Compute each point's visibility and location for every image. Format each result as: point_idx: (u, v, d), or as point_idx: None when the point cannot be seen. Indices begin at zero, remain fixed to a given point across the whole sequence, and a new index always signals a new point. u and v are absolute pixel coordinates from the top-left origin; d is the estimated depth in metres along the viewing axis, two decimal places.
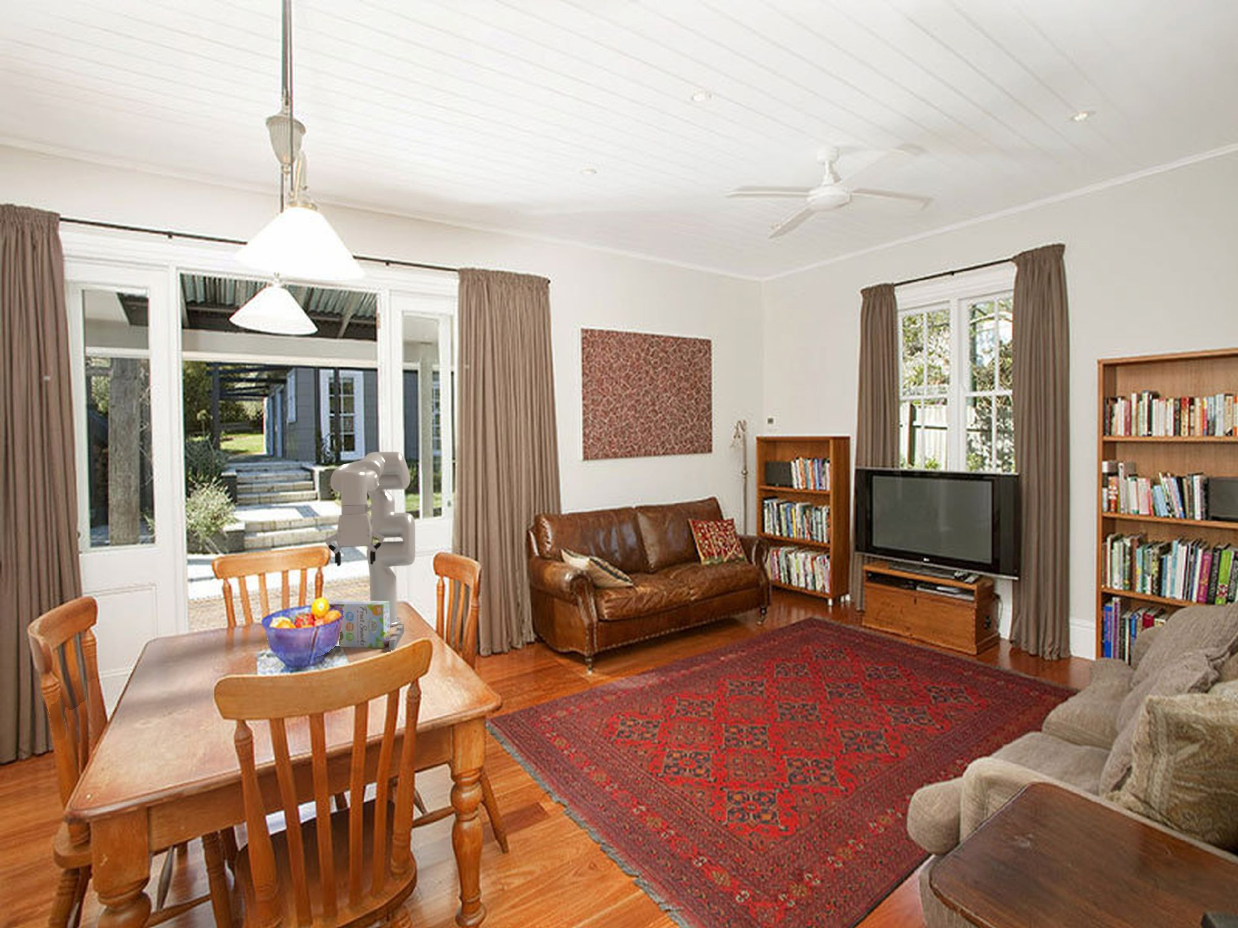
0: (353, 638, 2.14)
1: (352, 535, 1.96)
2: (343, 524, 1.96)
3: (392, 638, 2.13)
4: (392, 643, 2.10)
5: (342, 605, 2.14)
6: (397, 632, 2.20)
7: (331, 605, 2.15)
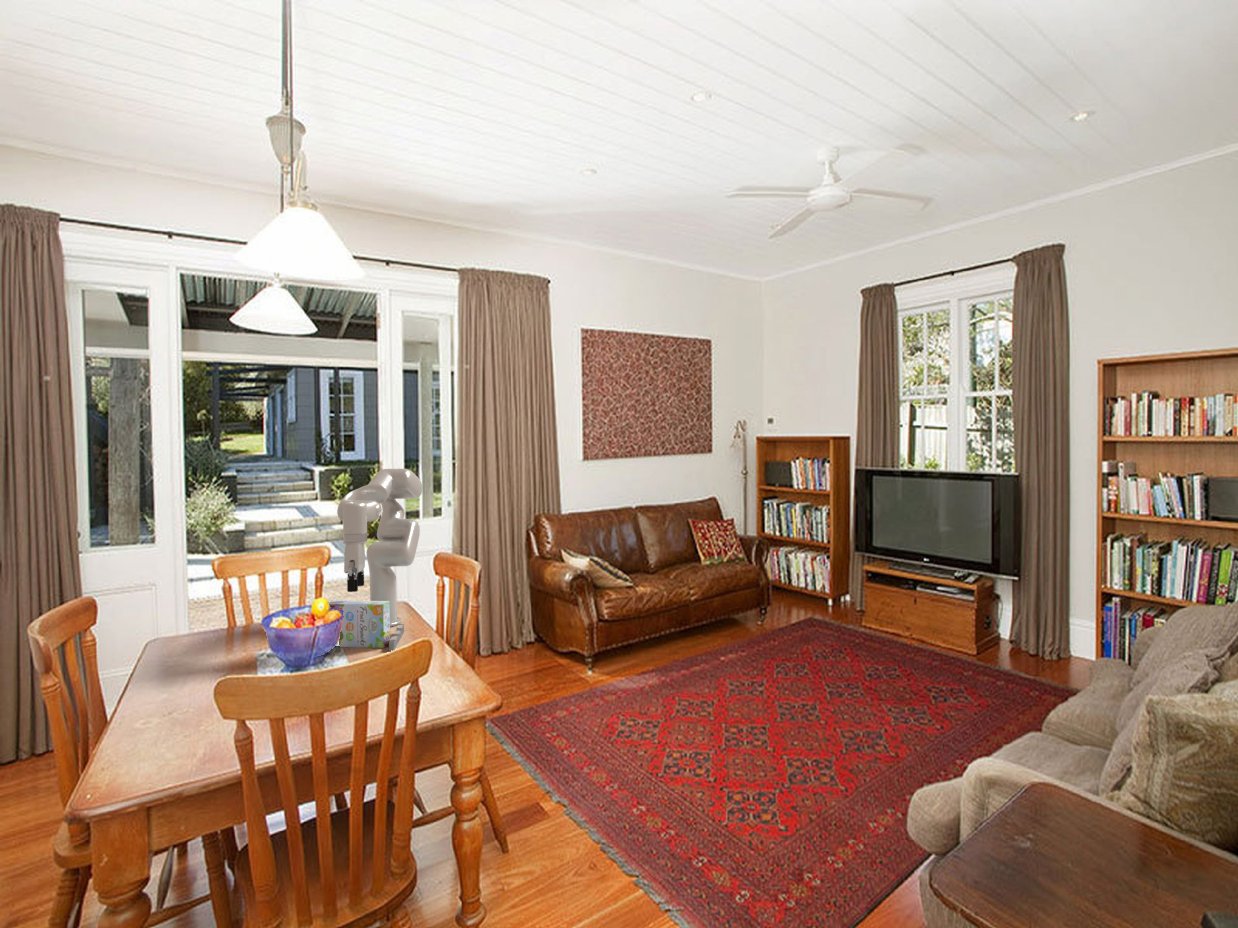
0: (353, 638, 2.14)
1: (362, 560, 2.16)
2: (360, 551, 2.13)
3: (392, 638, 2.13)
4: (392, 643, 2.10)
5: (342, 605, 2.14)
6: (397, 632, 2.20)
7: (331, 605, 2.15)
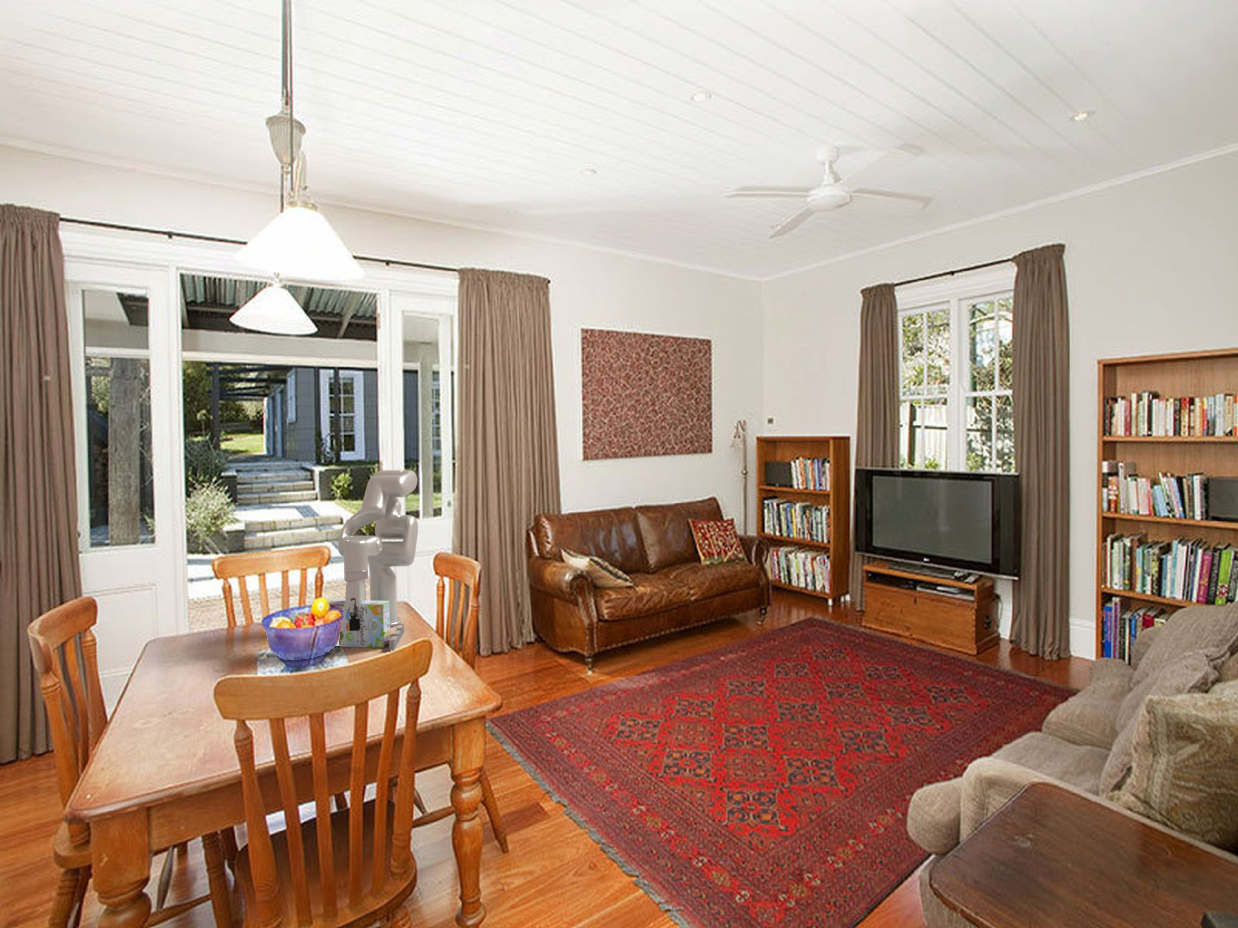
0: (353, 638, 2.14)
1: (363, 597, 2.16)
2: (361, 588, 2.14)
3: (392, 638, 2.13)
4: (392, 643, 2.10)
5: (342, 605, 2.14)
6: (397, 632, 2.20)
7: (331, 605, 2.15)
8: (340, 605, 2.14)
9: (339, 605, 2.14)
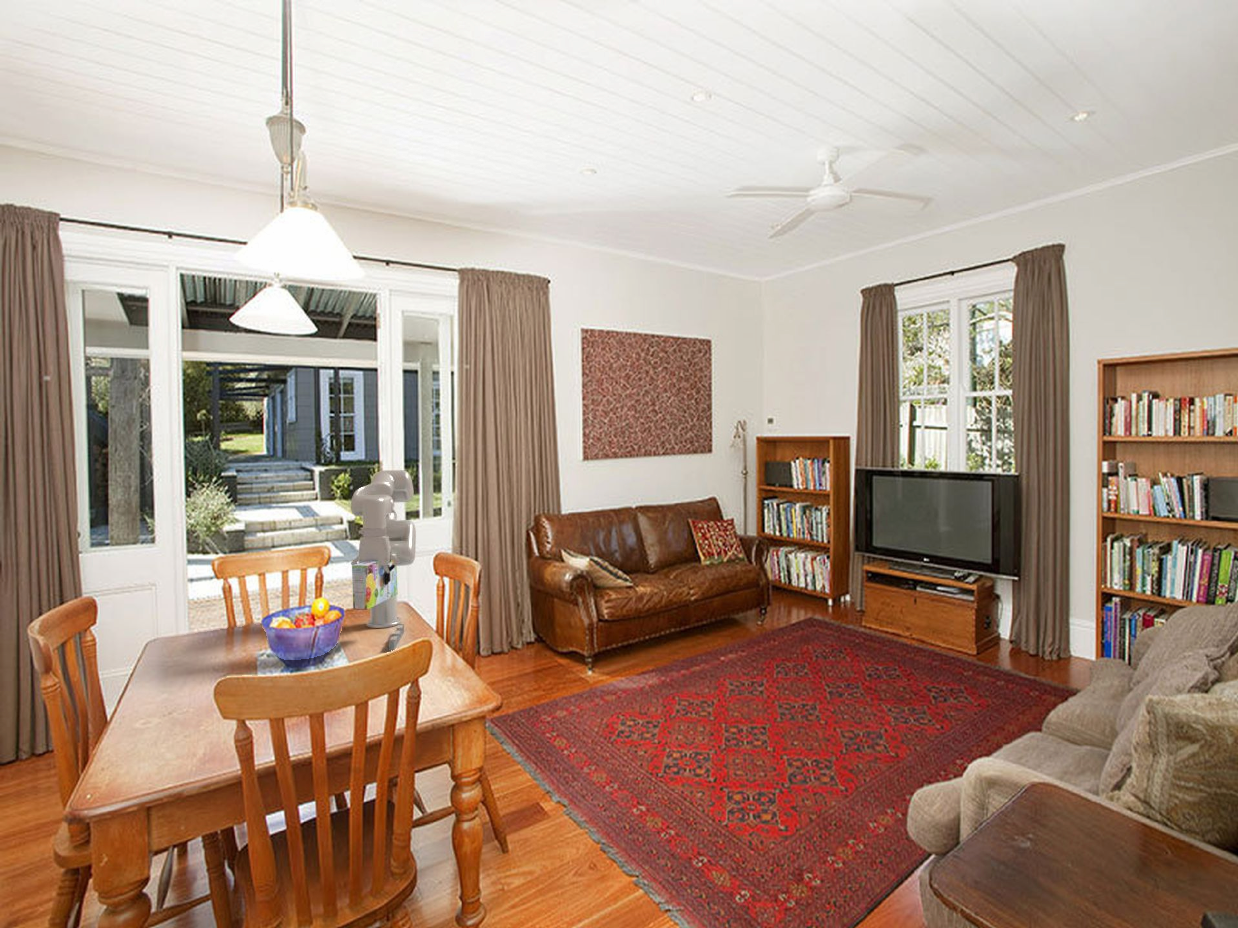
0: (383, 592, 2.19)
1: None
2: None
3: (392, 638, 2.13)
4: (392, 643, 2.10)
5: (376, 563, 2.15)
6: (397, 632, 2.20)
7: (370, 565, 2.11)
8: (375, 563, 2.14)
9: (374, 563, 2.14)
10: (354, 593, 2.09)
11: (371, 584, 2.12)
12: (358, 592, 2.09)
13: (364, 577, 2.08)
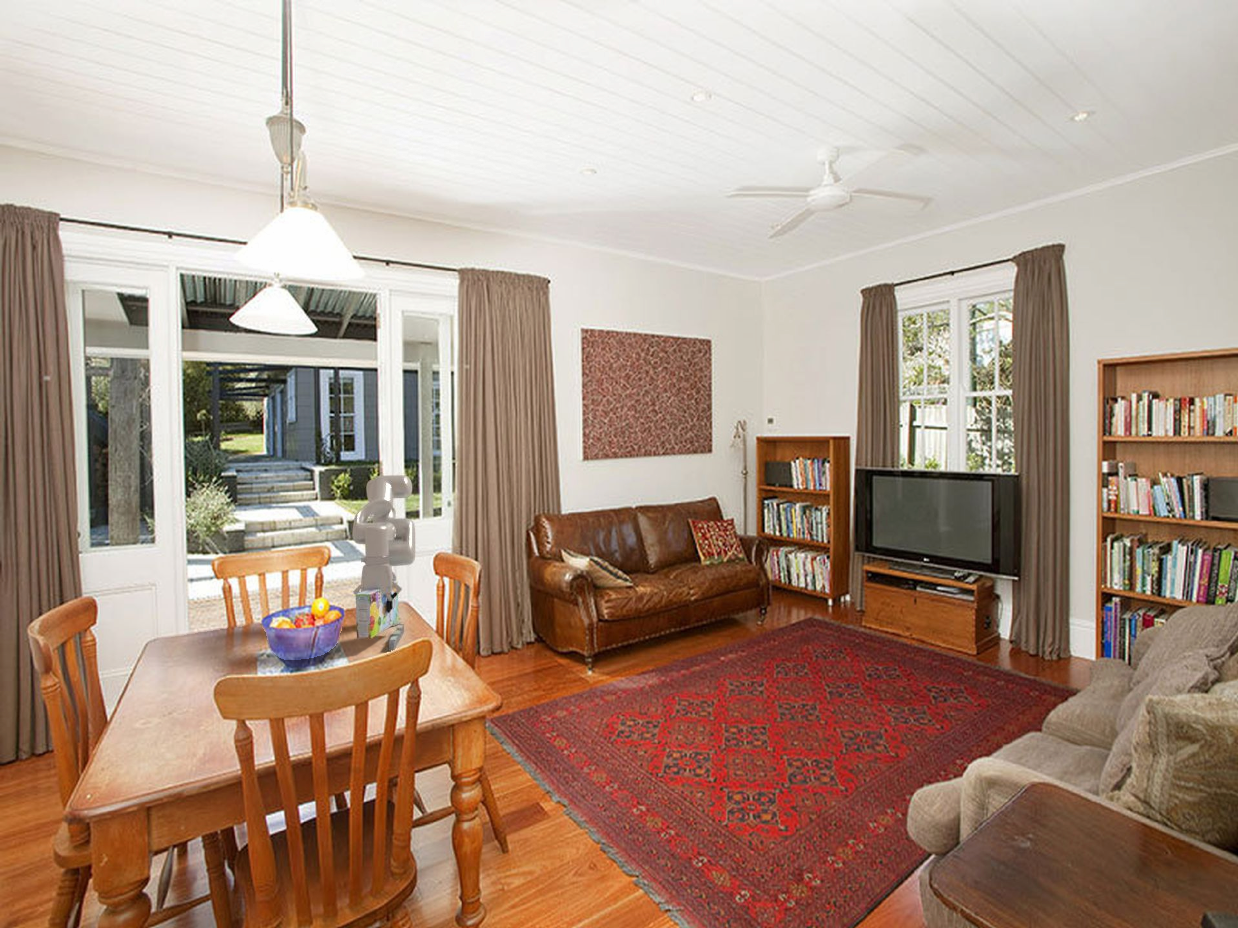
0: (386, 620, 2.19)
1: None
2: None
3: (392, 638, 2.13)
4: (392, 643, 2.10)
5: (379, 591, 2.15)
6: (397, 632, 2.20)
7: (374, 594, 2.11)
8: (378, 591, 2.15)
9: (378, 592, 2.14)
10: (358, 622, 2.09)
11: (375, 613, 2.12)
12: (362, 620, 2.09)
13: (368, 606, 2.09)
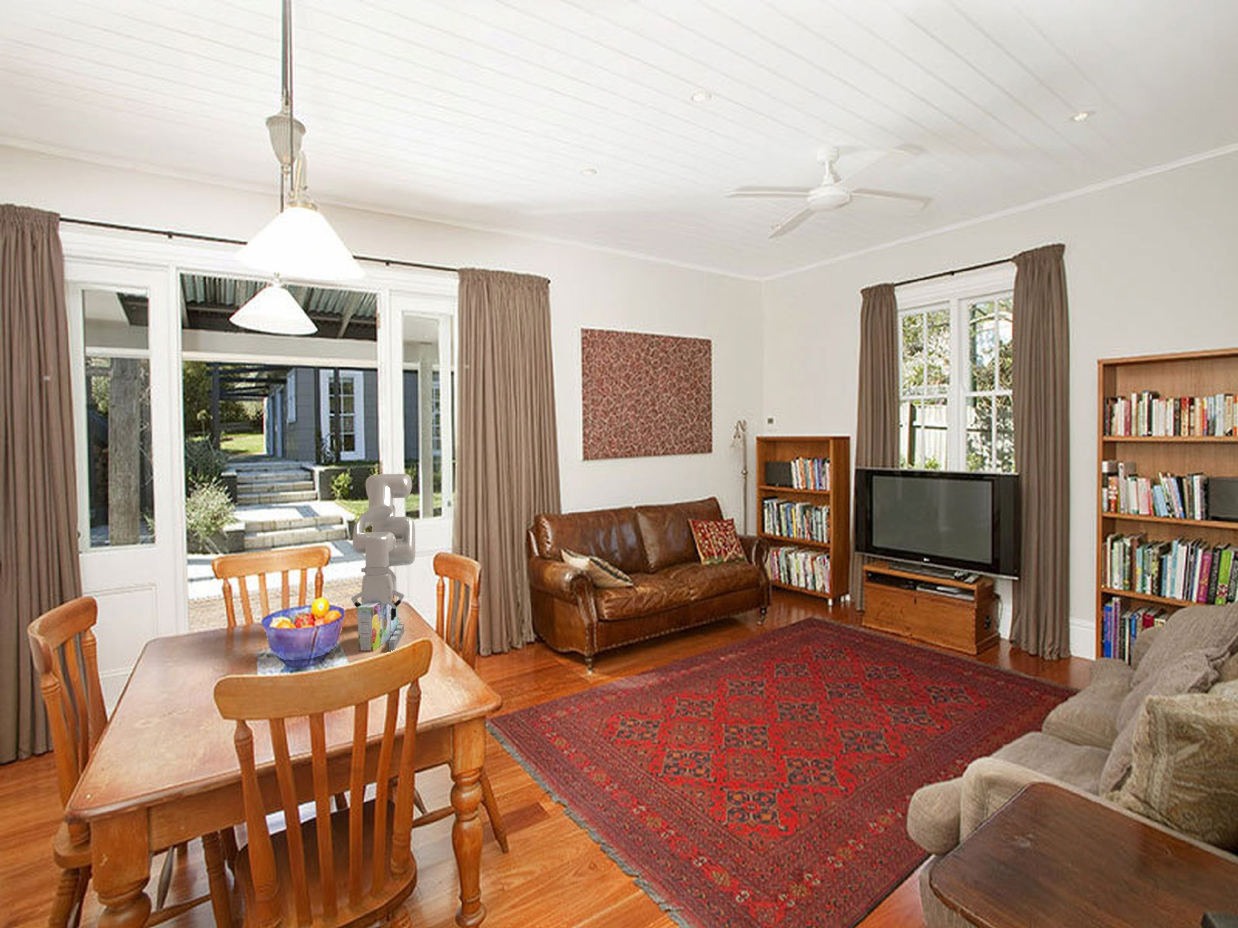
0: (386, 632, 2.20)
1: None
2: None
3: (392, 638, 2.13)
4: (392, 643, 2.10)
5: (380, 603, 2.16)
6: (397, 632, 2.20)
7: (375, 606, 2.12)
8: (379, 604, 2.16)
9: (379, 604, 2.15)
10: (360, 635, 2.10)
11: (377, 625, 2.13)
12: (363, 633, 2.10)
13: (370, 619, 2.10)
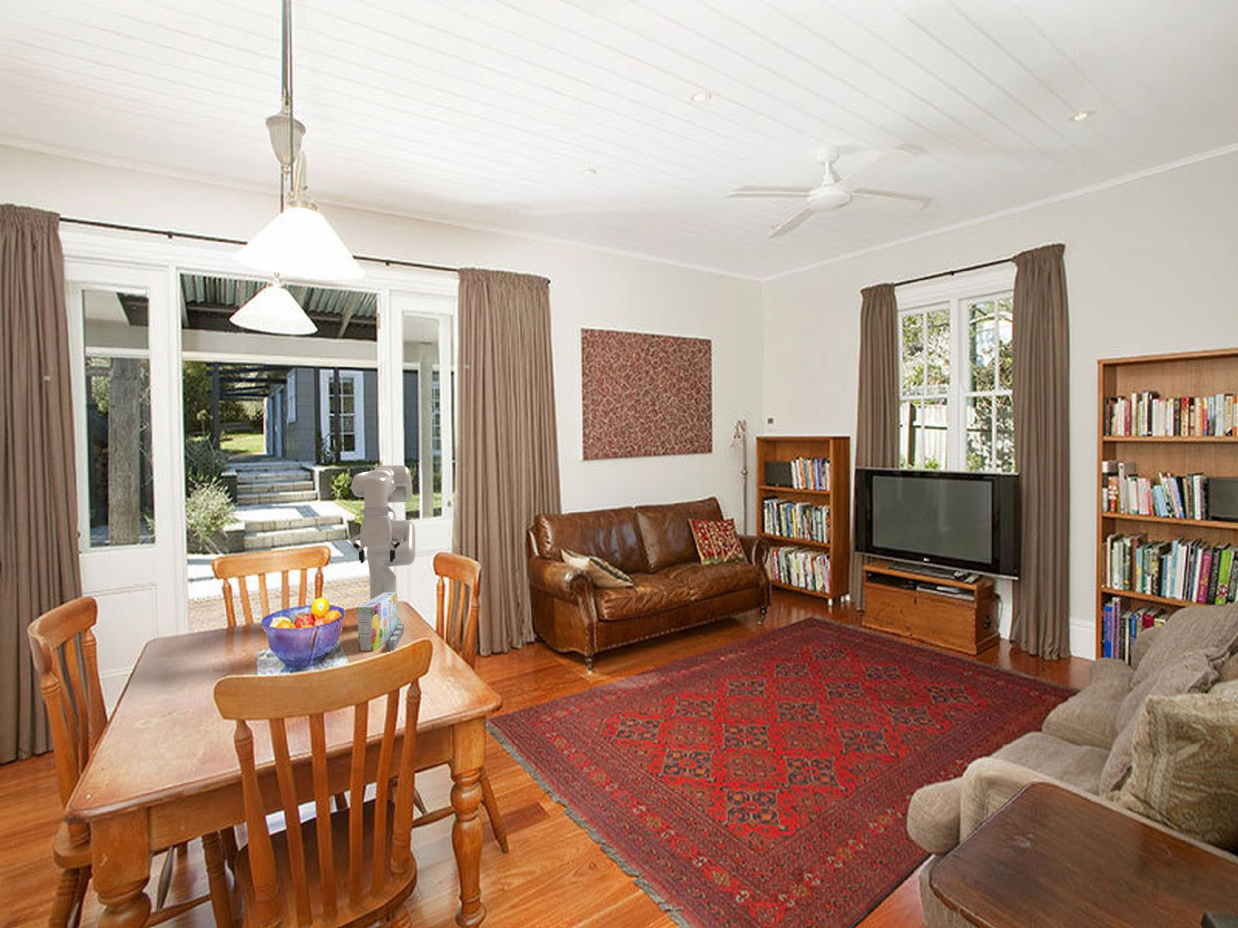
0: (386, 632, 2.20)
1: None
2: None
3: (392, 638, 2.13)
4: (392, 643, 2.10)
5: (380, 603, 2.16)
6: (397, 632, 2.20)
7: (375, 606, 2.12)
8: (379, 604, 2.16)
9: (379, 604, 2.15)
10: (360, 635, 2.10)
11: (377, 625, 2.13)
12: (364, 633, 2.10)
13: (370, 619, 2.10)
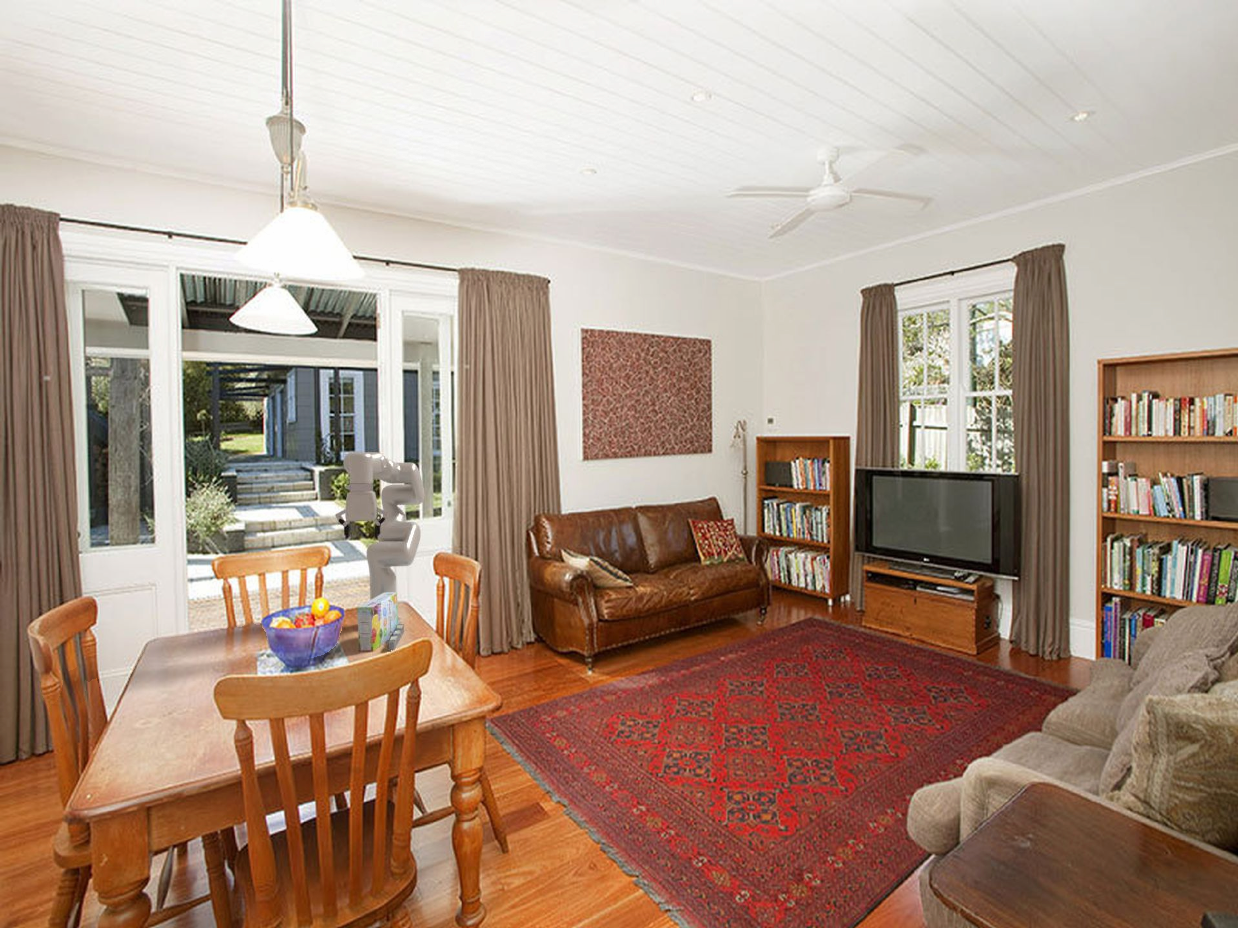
0: (386, 632, 2.20)
1: None
2: None
3: (392, 638, 2.13)
4: (392, 643, 2.10)
5: (380, 603, 2.16)
6: (397, 632, 2.20)
7: (375, 606, 2.12)
8: (379, 604, 2.16)
9: (379, 604, 2.15)
10: (360, 635, 2.10)
11: (377, 625, 2.13)
12: (363, 633, 2.10)
13: (370, 619, 2.10)
